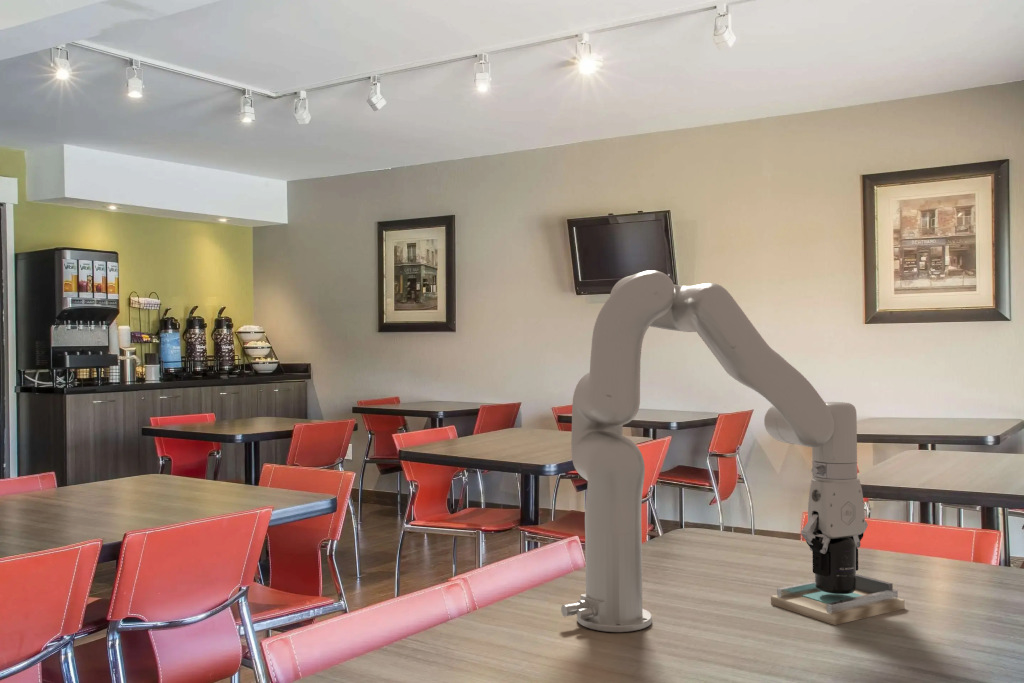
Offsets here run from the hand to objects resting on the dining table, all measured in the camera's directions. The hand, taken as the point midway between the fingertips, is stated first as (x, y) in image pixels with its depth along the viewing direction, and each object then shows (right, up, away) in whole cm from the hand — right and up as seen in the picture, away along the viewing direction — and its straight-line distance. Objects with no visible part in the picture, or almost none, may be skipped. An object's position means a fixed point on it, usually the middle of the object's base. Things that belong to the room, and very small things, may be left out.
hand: (835, 571), depth 154 cm
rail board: (0, -6, 0) cm, 6 cm away
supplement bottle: (0, -4, 0) cm, 4 cm away
